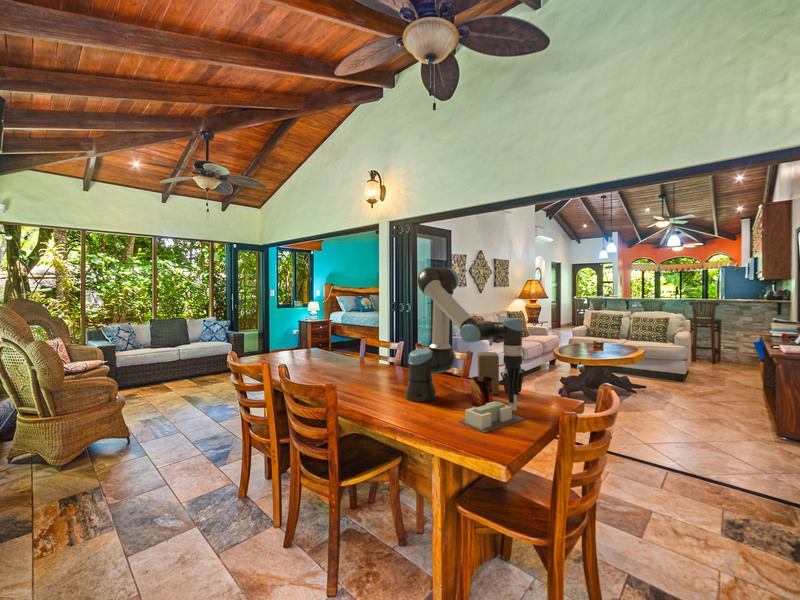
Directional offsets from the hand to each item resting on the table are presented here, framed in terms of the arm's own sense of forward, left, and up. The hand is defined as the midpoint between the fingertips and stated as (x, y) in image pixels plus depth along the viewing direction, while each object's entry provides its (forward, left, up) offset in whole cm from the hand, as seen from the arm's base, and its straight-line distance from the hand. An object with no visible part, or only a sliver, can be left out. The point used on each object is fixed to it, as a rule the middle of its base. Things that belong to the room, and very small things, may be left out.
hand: (513, 409), depth 152 cm
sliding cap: (0, -9, -1) cm, 9 cm away
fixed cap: (0, -21, -2) cm, 21 cm away
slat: (0, -15, -2) cm, 15 cm away
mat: (0, -13, -2) cm, 13 cm away
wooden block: (-29, +17, -2) cm, 34 cm away
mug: (-15, -1, -2) cm, 15 cm away
